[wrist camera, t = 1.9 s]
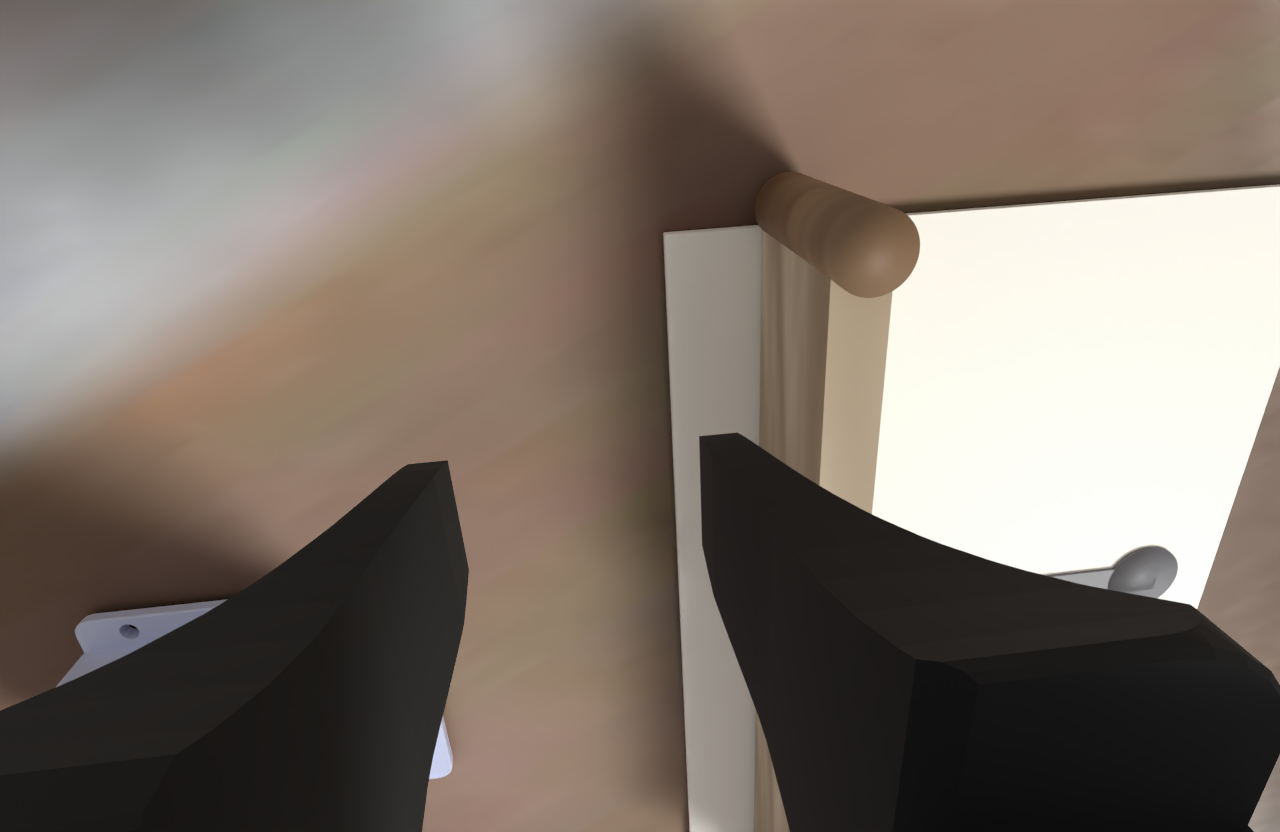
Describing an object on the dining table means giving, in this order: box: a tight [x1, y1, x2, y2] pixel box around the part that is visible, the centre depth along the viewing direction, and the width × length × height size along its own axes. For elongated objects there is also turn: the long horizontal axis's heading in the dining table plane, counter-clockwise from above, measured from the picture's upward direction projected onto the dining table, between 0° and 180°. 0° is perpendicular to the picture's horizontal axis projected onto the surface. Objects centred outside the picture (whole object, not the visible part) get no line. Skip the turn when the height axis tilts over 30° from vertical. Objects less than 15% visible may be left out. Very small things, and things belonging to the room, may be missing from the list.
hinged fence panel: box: [754, 172, 920, 514], centre depth 17 cm, size 2×12×6 cm, turn 3°
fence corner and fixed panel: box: [754, 711, 790, 832], centre depth 23 cm, size 2×13×6 cm, turn 3°
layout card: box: [663, 184, 1280, 832], centre depth 24 cm, size 18×25×1 cm
